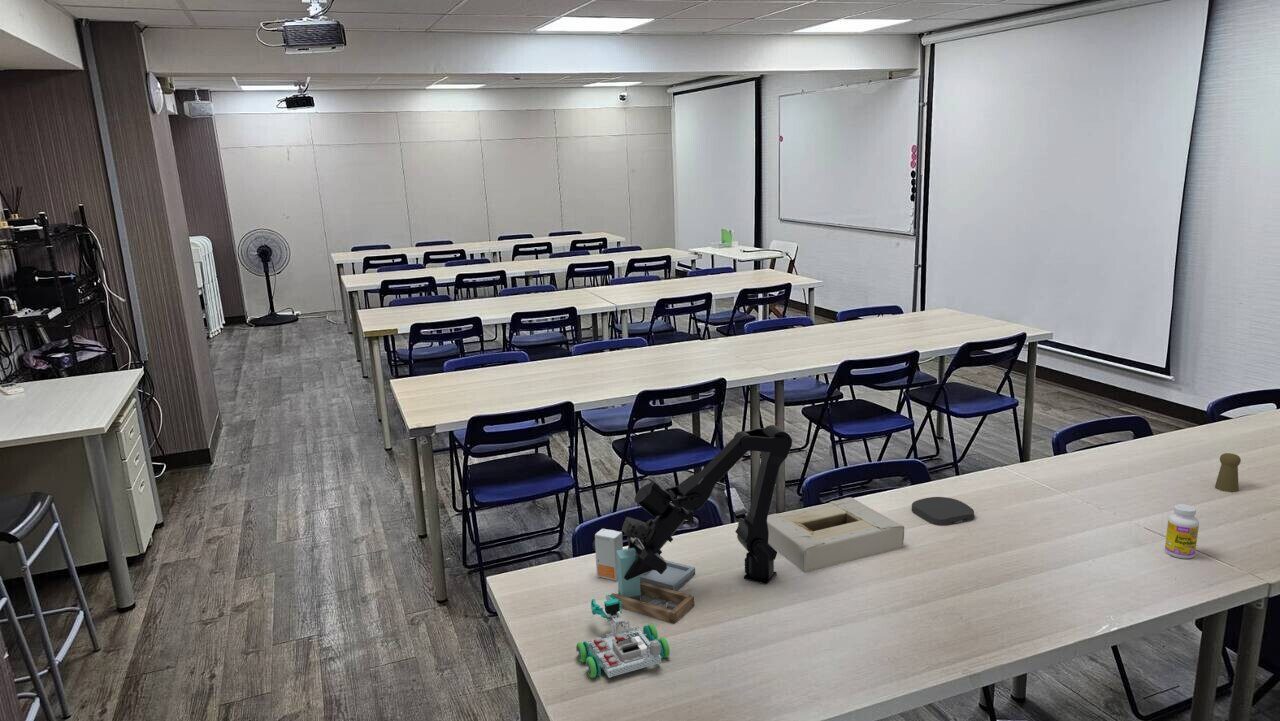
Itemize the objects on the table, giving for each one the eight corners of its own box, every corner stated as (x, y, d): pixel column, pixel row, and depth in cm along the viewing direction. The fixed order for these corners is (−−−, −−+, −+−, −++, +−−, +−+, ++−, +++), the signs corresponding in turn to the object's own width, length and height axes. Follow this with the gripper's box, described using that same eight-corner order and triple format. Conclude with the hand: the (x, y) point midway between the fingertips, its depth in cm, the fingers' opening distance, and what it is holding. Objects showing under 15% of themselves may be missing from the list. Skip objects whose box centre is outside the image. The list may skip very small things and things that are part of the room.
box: (805, 575, 215) (905, 548, 226) (804, 547, 213) (905, 522, 225) (757, 542, 236) (851, 519, 248) (757, 516, 234) (851, 494, 246)
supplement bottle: (1169, 558, 214) (1174, 511, 211) (1160, 547, 221) (1165, 501, 218) (1199, 560, 213) (1204, 513, 210) (1189, 549, 219) (1194, 503, 216)
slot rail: (694, 605, 201) (693, 596, 200) (674, 623, 193) (673, 613, 193) (631, 587, 210) (631, 578, 210) (610, 604, 203) (609, 595, 202)
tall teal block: (636, 592, 208) (634, 547, 205) (641, 601, 204) (639, 555, 201) (618, 595, 207) (616, 550, 204) (622, 604, 203) (620, 558, 200)
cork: (1218, 491, 255) (1222, 457, 253) (1211, 484, 261) (1215, 450, 258) (1241, 492, 253) (1246, 458, 251) (1234, 485, 259) (1238, 451, 256)
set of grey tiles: (688, 607, 200) (688, 603, 200) (673, 620, 194) (673, 616, 194) (656, 598, 205) (656, 595, 204) (641, 611, 199) (641, 607, 199)
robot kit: (633, 612, 199) (631, 576, 197) (678, 667, 177) (676, 627, 175) (558, 631, 192) (555, 594, 190) (595, 690, 170) (592, 649, 168)
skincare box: (596, 577, 217) (593, 534, 214) (604, 570, 221) (602, 527, 218) (616, 581, 214) (614, 538, 212) (624, 574, 218) (622, 531, 215)
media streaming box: (906, 509, 252) (906, 500, 251) (947, 502, 256) (947, 493, 255) (936, 528, 238) (937, 518, 237) (979, 520, 242) (980, 510, 242)
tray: (695, 574, 216) (695, 567, 216) (673, 593, 207) (673, 585, 207) (659, 565, 222) (658, 558, 222) (636, 582, 213) (635, 575, 213)
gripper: (631, 493, 210) (590, 540, 210) (651, 522, 192) (607, 573, 192) (663, 518, 214) (623, 564, 213) (685, 548, 196) (641, 599, 196)
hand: (623, 574), depth 204 cm, fingers closed on tall teal block, 4 cm apart
